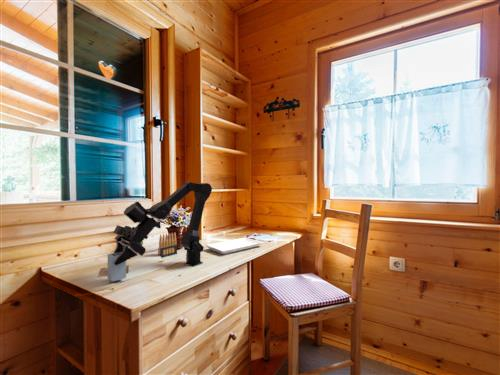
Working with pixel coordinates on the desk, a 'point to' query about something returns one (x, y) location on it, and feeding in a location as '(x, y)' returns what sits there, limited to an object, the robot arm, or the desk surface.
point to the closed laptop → (234, 245)
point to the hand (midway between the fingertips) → (112, 262)
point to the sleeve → (116, 268)
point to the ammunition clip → (167, 245)
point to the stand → (105, 271)
